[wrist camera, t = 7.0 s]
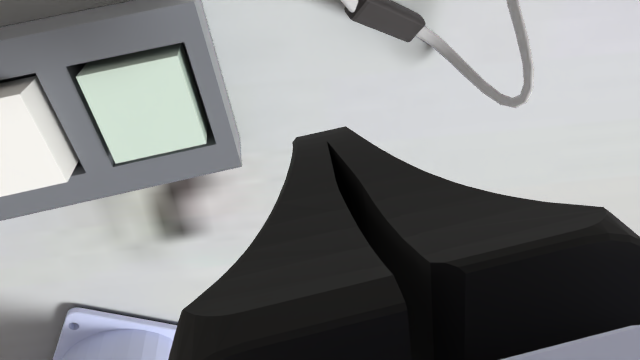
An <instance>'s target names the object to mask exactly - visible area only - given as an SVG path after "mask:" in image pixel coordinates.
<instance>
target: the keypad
mask: <svg viewBox="0 0 640 360" xmlns="http://www.w3.org/2000/svg"><path fill="white" fill-rule="evenodd" d="M177 43H182V44H183V48H184V51H185V54H186V57H187V60H188V63H189V66H190V70H191V73H192V76H193V79H194V82H195V85H196V88H197V92H198V95H199V98H200V101H201V104H202V107H203V110H204V114H205V117H206V120H207V123H208V127H207V142H206V144H203V145H198V146H193V147H189V148H184V149H180V150H175V151H171V152H166V153H162V154H157V155H153V156H148V157H144V158H139V159H135V160H130V161H126V162H121V163H115V161H114V159H113V157H112V155H111V152H110V150H109V148H108V146H107V144H106V142H105V139H104V137H103V135H102V133H101V131H100V129H99V126H98V124H97V122H96V120H95V118H94V115H93V113H92V111H91V109H90V107H89V105H88V102H87V100H86V98H85V96H84V94H83V92H82V89H81V87H80V85H79V83H78V81H77V78H76V76H77V75H78V73H79V72H80V71H81V70H82V68H83V67H84V66H85V65H86V63H87V62H90V61H95V60H100V59H105V58H110V57H114V56H119V55H124V54H129V53H134V52H139V51H143V50H148V49H153V48H158V47H163V46H168V45H172V44H177ZM33 76H37V77H38V79H39V81H40V83H41V85H42V87H43V89H44V91H45V93H46V95H47V97H48V99H49V101H50V103H51V105H52V107H53V108H54V110H55V112H56V114H57V116H58V118H59V120H60V122H61V124H62V126H63V128H64V130H65V132H66V134H67V136H68V138H69V140H70V142H71V144H72V146H73V148H74V150H75V152H76V154H77V156H78V158H79V161H78V163H77V165H76V167H75V169H74V171H73V173H72V174H71V176H70V178H69V180H68V182H66V183H61V184H57V185H52V186H48V187H43V188H39V189H34V190H30V191H25V192H21V193H16V194H11V195H7V196H2V197H0V221H2V220H6V219H11V218H15V217H20V216H24V215H29V214H33V213H37V212H42V211H46V210H51V209H55V208H60V207H64V206H69V205H73V204H77V203H82V202H86V201H91V200H95V199H100V198H104V197H109V196H113V195H117V194H122V193H126V192H131V191H135V190H140V189H144V188H149V187H153V186H157V185H162V184H166V183H171V182H175V181H180V180H184V179H189V178H193V177H197V176H202V175H206V174H211V173H215V172H220V171H224V170H229V169H233V168H237V167H242V160H241V145H240V136H239V132H238V129H237V125H236V122H235V118H234V115H233V111H232V108H231V104H230V100H229V97H228V93H227V90H226V86H225V83H224V79H223V76H222V72H221V69H220V65H219V61H218V58H217V54H216V51H215V47H214V44H213V40H212V37H211V33H210V29H209V26H208V22H207V19H206V15H205V12H204V8H203V5H202V1H201V0H133V1H128V2H123V3H118V4H113V5H108V6H103V7H98V8H93V9H88V10H83V11H78V12H73V13H68V14H63V15H58V16H53V17H48V18H43V19H38V20H33V21H28V22H23V23H18V24H13V25H8V26H3V27H0V83H4V82H9V81H13V80H18V79H23V78H28V77H33Z"/></svg>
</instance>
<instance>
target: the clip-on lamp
mask: <svg viewBox="0 0 640 360" xmlns="http://www.w3.org/2000/svg"><path fill="white" fill-rule="evenodd" d="M340 1H341V2H342V3H343V4H344V5H345V12H346V13H347V15H348V16H349V18H350V19H351V20H353V21H355V22H358V23H360V24H363V25H365V26H368V27H370V28H373V29H376V30H378V31H381V32H383V33H386V34H388V35H391V36H393V37H396V38H398V39H401V40H403V41H406V42H410V41H411V40H412V39H413V38H414V37H415V36H416V37H418V38H420V39H422V40H423V41H425V42H426V43H427V44H429V45H430V46H432V47H433V48H434V49H435V50H437V51H438V52H439V53H440V54H441V55H442V56H443V57H444V58H445V59H447V60H448V61H449V62H450V63H451V64H452V65H453V66H454V67H455V68H456V69H457V70H458V71H459V72H460V73H461V74H462V75H464V76H465V77H466V78H467V79H468V80H469V81H470V82H471V83H472V84H474V85H475V86H476V87H477V88H478V89H479V90H480V91H481V92H483V93H484V94H485V95H487V96H488V97H490V98H491V99H493V100H494V101H496V102H497V103H499V104H500V105H505V106H509V107H513V108H517V107H519V106H521V105H523V104H525V103H527V101H528V99H529V97H530V95H531V93H532V91H533V83H534V65H533V60H532V54H531V49H530V43H529V38H528V35H527V31H526V27H525V23H524V20H523V16H522V12H521V8H520V4H519V1H518V0H507V4H508V8H509V12H510V15H511V19H512V23H513V26H514V30H515V33H516V37H517V41H518V46H519V50H520V54H521V59H522V63H523V77H524V85H523V88H522V91H521V94H520V95H518V96H516V97H514V98H511V97H509V96H506V95H503V94H501V93H499V92H498V91H497V90H496V89H494V88H493V87H492V86H491V85H489V84H488V83H487V82H485V81H484V80H483V79H482V78H481V77H480V76H479V75H478V74H477V73H476V72H475V71H474V70H473V69H472V68H471V67H470V66H469V65H468V64H467V63H466V62H465V61H464V60H463V59H462V58H461V57H460V56H459V55H458V54H457V53H456V52H455V51H454V50H453V49H452V48H451V47H450V46H449V45H448V44H447V43H446V42H445V41H444V40H443V39H442V38H440V37H439V36H438V35H437V34H435V33H434V32H433V31H431V30H430V29H428V28H427V27H425V21H424V19H423V18H422V17H421V15H419V14H418V13H416V12H414V11H411V10H409V9H407V8H405V7H403V6H401V5H399V4H397V3H395V2H393V1H391V0H340Z"/></svg>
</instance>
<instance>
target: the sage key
mask: <svg viewBox="0 0 640 360" xmlns="http://www.w3.org/2000/svg"><path fill="white" fill-rule="evenodd" d="M76 78H77V81H78V83H79V85H80V87H81V89H82V92H83V94H84V96H85V98H86V100H87V102H88V105H89V107H90V109H91V111H92V113H93V115H94V118H95V120H96V122H97V124H98V126H99V129H100V131H101V133H102V135H103V137H104V139H105V142H106V144H107V146H108V148H109V150H110V152H111V155H112V157H113V159H114V161H115V163H121V162H126V161H130V160H135V159H139V158H144V157H148V156H153V155H157V154H162V153H166V152H171V151H175V150H180V149H184V148H189V147H193V146H198V145H203V144H206V142H207V127H208V123H207V120H206V117H205V114H204V110H203V107H202V104H201V101H200V98H199V95H198V92H197V88H196V85H195V82H194V79H193V76H192V73H191V70H190V66H189V63H188V60H187V57H186V54H185V51H184V48H183V44H182V43H177V44H172V45H168V46H163V47H158V48H153V49H148V50H143V51H139V52H134V53H129V54H124V55H119V56H114V57H110V58H105V59H100V60H95V61H90V62H87V63H86V65H85V66H84V67H83V68H82V70H81V71H80V72H79V73H78V75H77V76H76Z"/></svg>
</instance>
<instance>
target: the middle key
mask: <svg viewBox="0 0 640 360" xmlns="http://www.w3.org/2000/svg"><path fill="white" fill-rule="evenodd" d="M78 161H79V158H78V156H77V154H76V152H75V150H74V148H73V146H72V144H71V142H70V140H69V138H68V136H67V134H66V132H65V130H64V128H63V126H62V124H61V122H60V120H59V118H58V116H57V114H56V112H55V110H54V108H53V107H52V105H51V103H50V101H49V99H48V97H47V95H46V93H45V91H44V89H43V87H42V85H41V83H40V81H39V79H38V77H37V76H33V77H28V78H23V79H18V80H13V81H9V82H4V83H0V197H2V196H7V195H11V194H16V193H21V192H25V191H30V190H34V189H39V188H43V187H48V186H52V185H57V184H61V183H66V182H68V180H69V178H70V176H71V174H72V173H73V171H74V169H75V167H76V165H77V163H78Z"/></svg>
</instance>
